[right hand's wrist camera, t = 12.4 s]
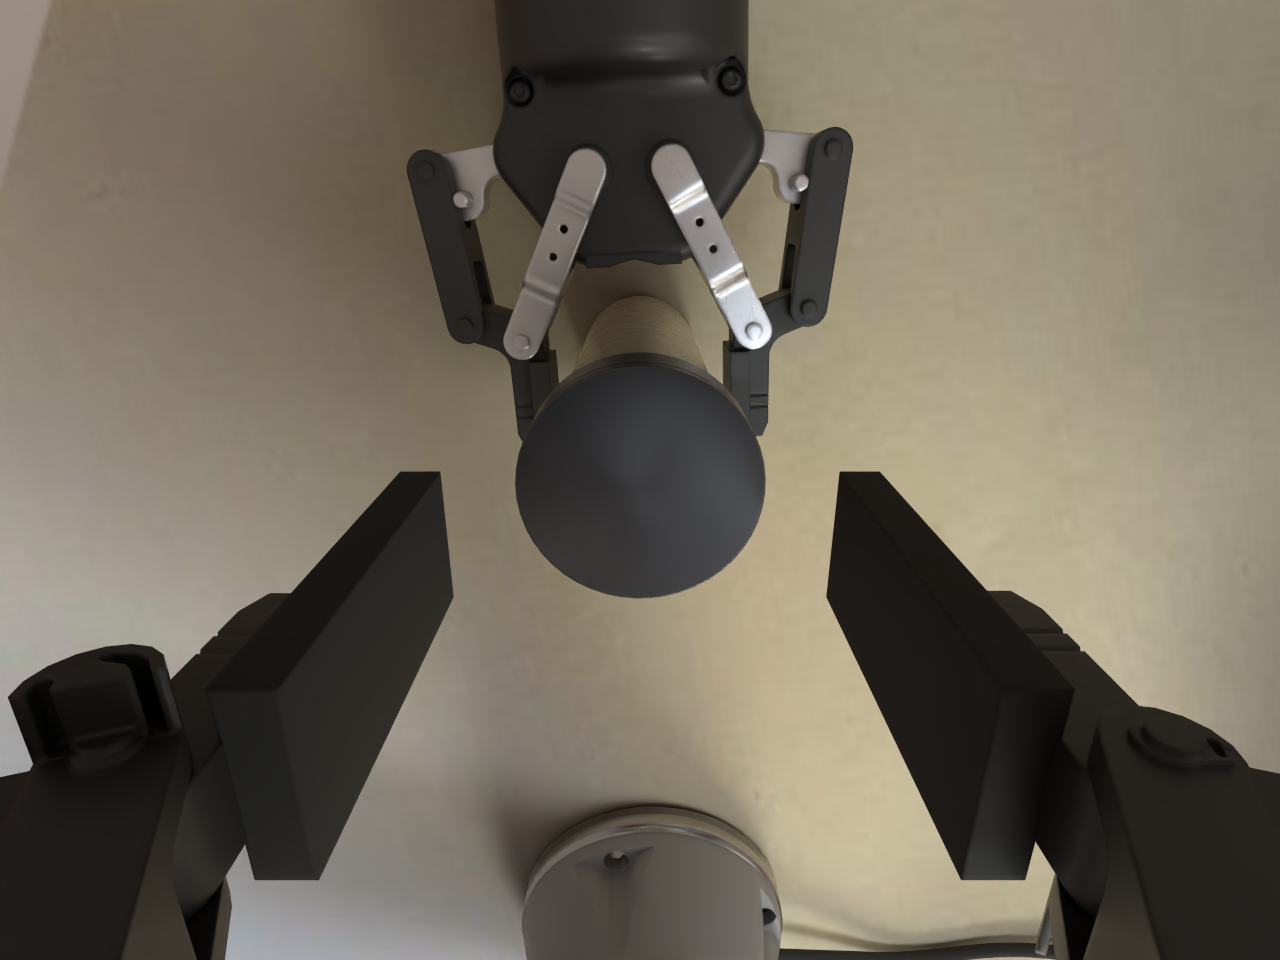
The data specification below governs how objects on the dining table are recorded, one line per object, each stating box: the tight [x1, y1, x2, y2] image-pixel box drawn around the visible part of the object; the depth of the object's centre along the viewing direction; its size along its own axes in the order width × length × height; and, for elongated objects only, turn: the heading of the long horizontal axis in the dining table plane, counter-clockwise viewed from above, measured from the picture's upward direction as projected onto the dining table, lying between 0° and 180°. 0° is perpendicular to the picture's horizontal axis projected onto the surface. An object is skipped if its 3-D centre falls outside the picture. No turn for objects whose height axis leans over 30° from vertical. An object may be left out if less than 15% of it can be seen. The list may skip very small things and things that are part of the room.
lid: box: [515, 352, 766, 598], centre depth 17 cm, size 6×6×2 cm
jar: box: [573, 296, 708, 373], centre depth 24 cm, size 5×5×16 cm
